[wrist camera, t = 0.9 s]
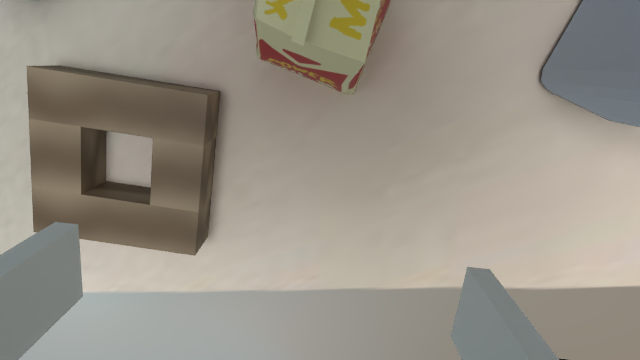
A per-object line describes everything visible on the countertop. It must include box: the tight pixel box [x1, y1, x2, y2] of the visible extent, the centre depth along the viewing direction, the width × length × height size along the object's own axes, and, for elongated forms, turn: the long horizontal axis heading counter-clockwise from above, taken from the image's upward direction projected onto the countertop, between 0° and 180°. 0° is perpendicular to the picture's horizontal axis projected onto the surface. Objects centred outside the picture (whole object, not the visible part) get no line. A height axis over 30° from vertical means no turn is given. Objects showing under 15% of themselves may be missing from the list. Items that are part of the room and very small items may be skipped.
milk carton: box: [253, 0, 391, 94], centre depth 25 cm, size 9×9×20 cm
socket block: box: [27, 66, 220, 255], centre depth 36 cm, size 14×14×4 cm
